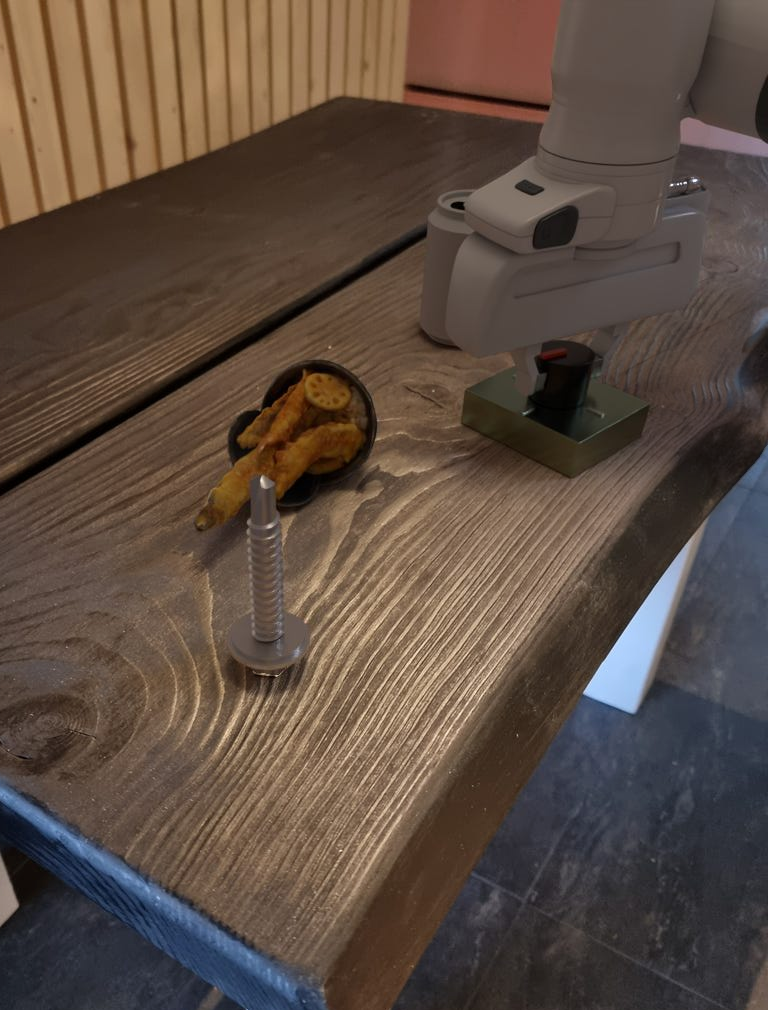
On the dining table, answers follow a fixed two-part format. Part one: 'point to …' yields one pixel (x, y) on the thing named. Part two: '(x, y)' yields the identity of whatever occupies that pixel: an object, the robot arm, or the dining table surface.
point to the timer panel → (555, 422)
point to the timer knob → (564, 373)
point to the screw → (266, 594)
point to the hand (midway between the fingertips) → (558, 383)
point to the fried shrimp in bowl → (296, 439)
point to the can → (442, 260)
